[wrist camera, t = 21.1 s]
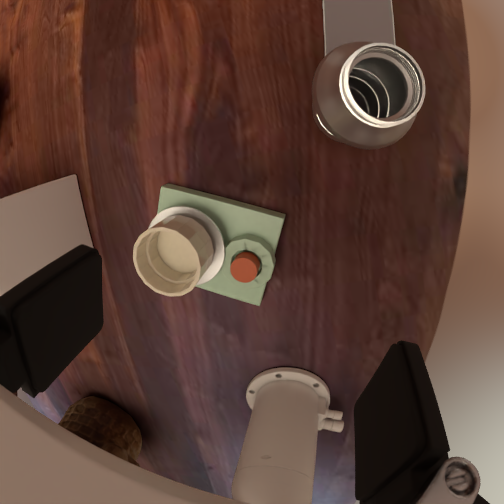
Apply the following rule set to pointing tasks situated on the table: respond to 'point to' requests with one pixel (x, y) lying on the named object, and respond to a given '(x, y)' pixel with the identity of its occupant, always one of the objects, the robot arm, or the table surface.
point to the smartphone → (357, 27)
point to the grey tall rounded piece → (367, 94)
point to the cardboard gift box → (39, 228)
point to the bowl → (173, 255)
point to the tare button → (245, 267)
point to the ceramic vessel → (104, 427)
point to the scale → (234, 237)
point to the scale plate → (210, 229)
